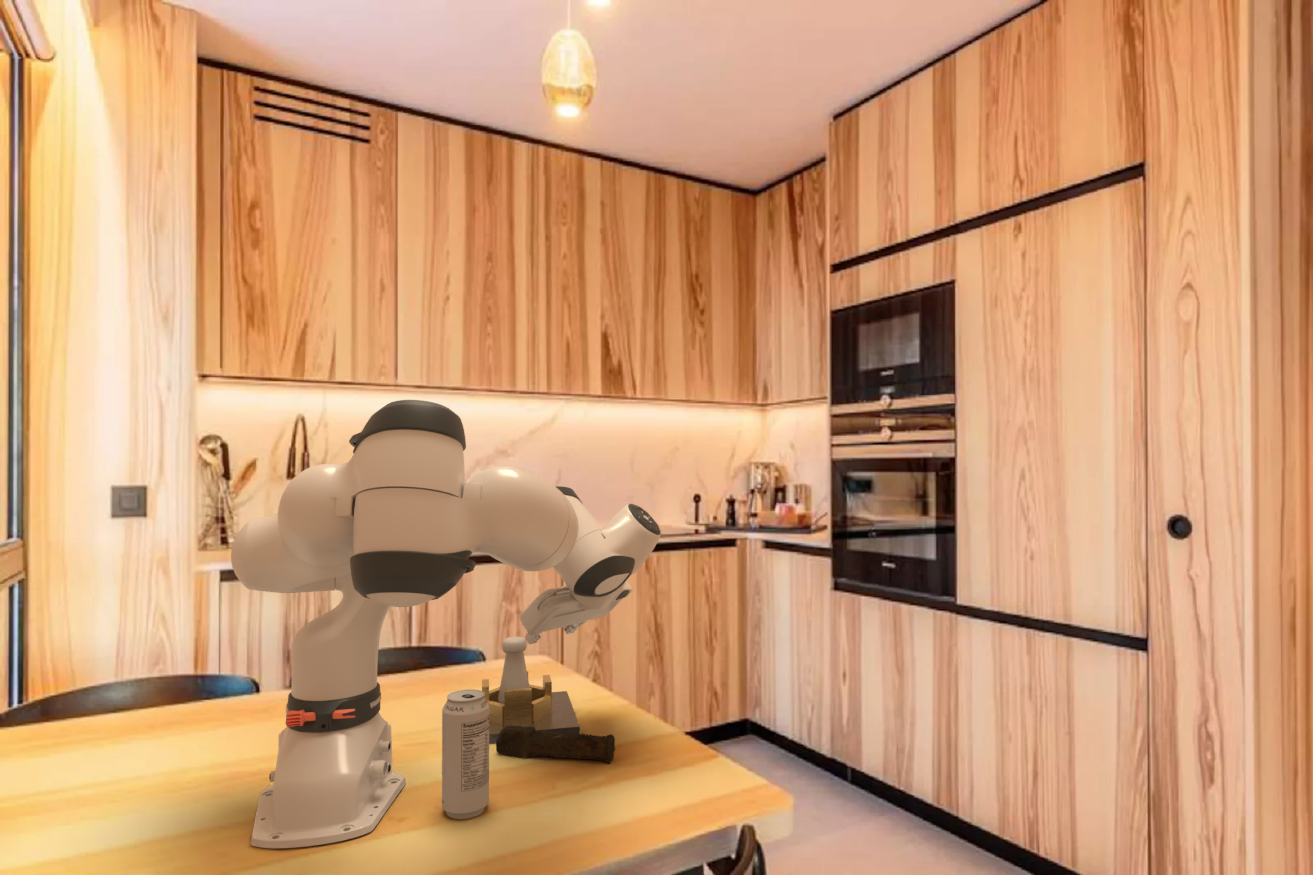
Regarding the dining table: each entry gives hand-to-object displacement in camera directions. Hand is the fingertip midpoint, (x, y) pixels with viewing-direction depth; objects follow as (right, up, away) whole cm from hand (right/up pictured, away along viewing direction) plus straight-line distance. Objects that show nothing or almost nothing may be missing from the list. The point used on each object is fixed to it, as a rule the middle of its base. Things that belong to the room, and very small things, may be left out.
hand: (549, 635), depth 128 cm
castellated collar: (-6, -16, +3) cm, 17 cm away
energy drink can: (-6, -15, -31) cm, 35 cm away
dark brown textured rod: (+3, -16, -14) cm, 21 cm away
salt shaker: (-7, -15, +3) cm, 16 cm away
